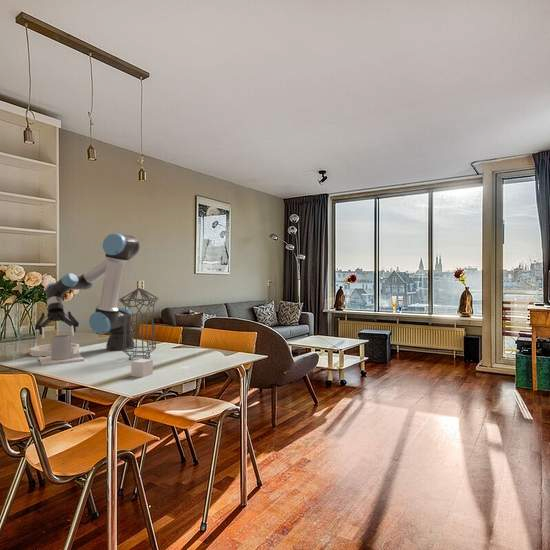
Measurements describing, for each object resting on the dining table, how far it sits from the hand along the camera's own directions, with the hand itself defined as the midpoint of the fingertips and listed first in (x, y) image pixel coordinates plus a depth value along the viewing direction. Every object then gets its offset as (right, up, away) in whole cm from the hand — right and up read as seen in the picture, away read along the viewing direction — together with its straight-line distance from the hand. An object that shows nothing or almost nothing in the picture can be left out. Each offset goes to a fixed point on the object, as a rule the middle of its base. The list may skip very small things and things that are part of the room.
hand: (58, 337), depth 209 cm
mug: (+5, -9, -9) cm, 14 cm away
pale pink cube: (+56, -9, -41) cm, 70 cm away
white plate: (-9, -10, +13) cm, 18 cm away
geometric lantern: (+44, -9, -7) cm, 46 cm away
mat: (+6, -10, -9) cm, 14 cm away
